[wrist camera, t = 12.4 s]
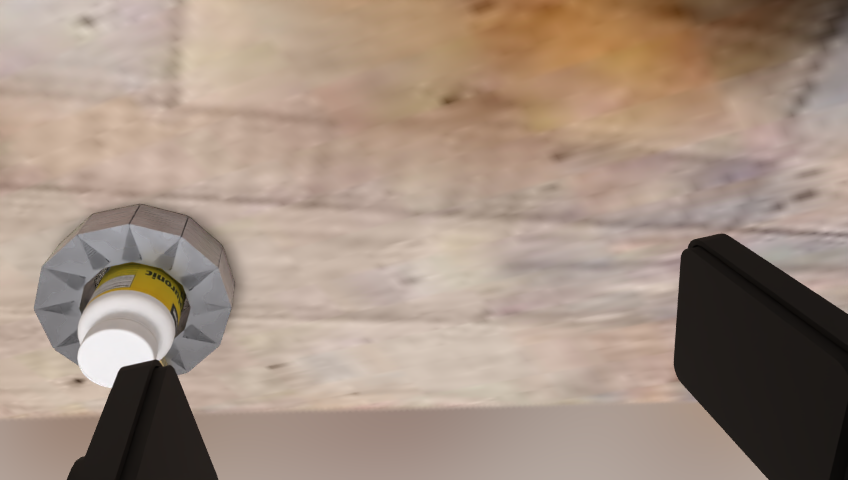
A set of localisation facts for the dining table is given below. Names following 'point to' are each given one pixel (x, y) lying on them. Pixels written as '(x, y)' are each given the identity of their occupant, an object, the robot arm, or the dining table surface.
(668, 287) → the dining table surface
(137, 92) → the dining table surface
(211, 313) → the grey faceted ring
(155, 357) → the supplement bottle
